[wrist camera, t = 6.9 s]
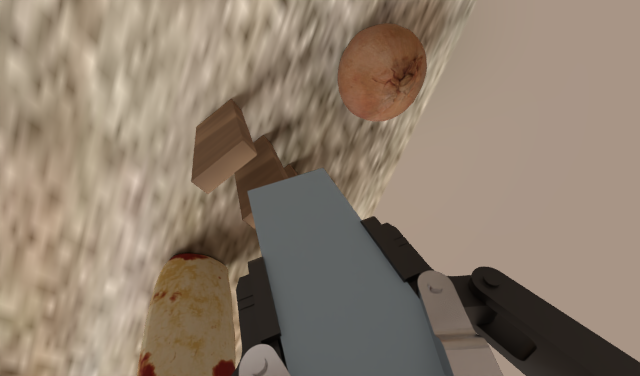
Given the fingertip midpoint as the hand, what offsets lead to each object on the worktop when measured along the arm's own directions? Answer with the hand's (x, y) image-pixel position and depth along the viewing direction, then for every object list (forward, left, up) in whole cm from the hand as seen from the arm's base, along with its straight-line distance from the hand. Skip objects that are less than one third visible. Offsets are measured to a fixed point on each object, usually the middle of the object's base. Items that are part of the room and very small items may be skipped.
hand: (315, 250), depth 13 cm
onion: (-4, -14, -22) cm, 26 cm away
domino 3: (0, 0, -5) cm, 5 cm away
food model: (-12, +21, -22) cm, 33 cm away
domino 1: (+2, +3, -22) cm, 22 cm away
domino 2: (-4, +3, -22) cm, 23 cm away
